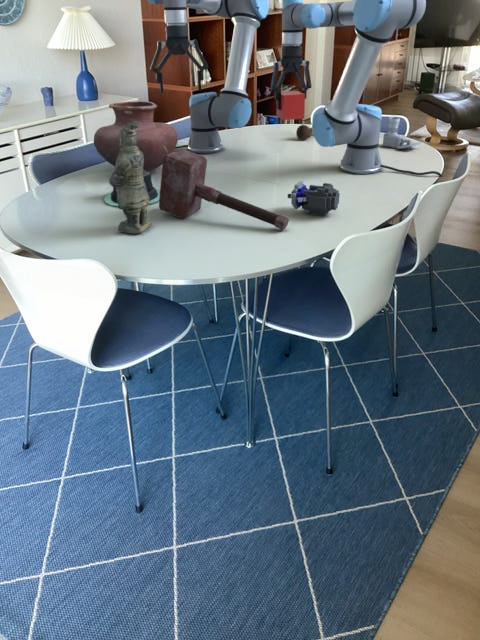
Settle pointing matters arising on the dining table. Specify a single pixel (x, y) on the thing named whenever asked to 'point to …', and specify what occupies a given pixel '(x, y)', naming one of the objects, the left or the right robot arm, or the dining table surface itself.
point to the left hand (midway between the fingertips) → (181, 91)
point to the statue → (131, 182)
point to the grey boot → (396, 136)
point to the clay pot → (137, 134)
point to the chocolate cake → (152, 192)
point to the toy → (315, 198)
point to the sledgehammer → (200, 190)
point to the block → (292, 105)
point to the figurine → (304, 132)
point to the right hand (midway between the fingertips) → (290, 108)
